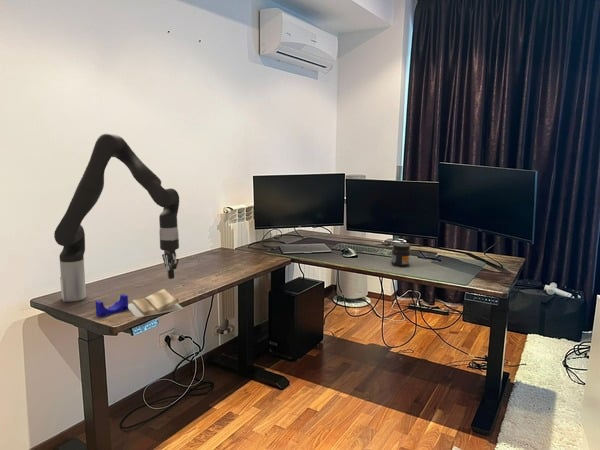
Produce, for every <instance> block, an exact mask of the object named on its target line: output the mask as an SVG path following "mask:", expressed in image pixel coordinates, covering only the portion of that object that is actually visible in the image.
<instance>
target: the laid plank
mask: <svg viewBox="0 0 600 450" xmlns="http://www.w3.org/2000/svg"><path fill="white" fill-rule="evenodd" d="M131 301H132V302H131V303H133V305H134V306H135V307H136V308H137V309H138V310H139V311H140V312H141V313H142V314H143V315H149V314H154V313H157V312H156V308H155V307H153V306H152V305H151V304H150V303H149V302H148V301H147V300H146V299H145V297H142V298H137V299H132V300H131Z"/></svg>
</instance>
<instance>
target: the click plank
mask: <svg viewBox="0 0 600 450" xmlns="http://www.w3.org/2000/svg"><path fill="white" fill-rule="evenodd" d="M144 298H145V299H146V300H147V301H148V302H149V303H150V304H151V305H152V306H153V307H155V308H156V310H157V311H158V312H160V311H162V310H164V309H166V308H168V307H170V306H172V305H174V304H176V303H178V304H179V302H180V301H179V298H177V297H176V296H175V295H173V294H172V293H171V292H170V291H169V290H167V289H166V288H165V287H164V288H163V289H161V290H159V291H157V292H154V293H153V294H150V295H148V296H146V297H144Z"/></svg>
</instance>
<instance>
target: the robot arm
mask: <svg viewBox="0 0 600 450" xmlns="http://www.w3.org/2000/svg"><path fill="white" fill-rule="evenodd" d="M111 158H115V159H117V160H119V161H120V162H121V163H123V164H124V165H125V166H126V168H127V169H128V170H129V171H130V173H131V175H132V177H133V178H134V180H135V181H136V182H137V183H138V184H139V185H140V186H141V187H142V188H144V190H145V191H147V193H148V195H149V196H150V197H151V199H152V201H153V202H154V203H155V204H156V205H157V206H159V207H161V208H163V209H162V212H161V213H159V217H158V218H159V231H158V233H159V235H158V236H159V249H160V250H161V251H163V253H162V255H161V257H162V260H163V263H164V266H165V268H166V270H167V279H169V280H173V279H174V278H175V270H177V267H178V263H179V258H177V253H176V250H178V249H179V248H180V241H179V240H180V238H179V229H178V213H179V207H180V195H179V193H178V191H177V190H176V189H174V188H164V187H163V186H162V180H161V179H160V177H159V176H157V174H155V173H154V172H153V171H152V170H151V169H150V168H149V167H148V166H147V165H146V164H145V163H144V162H143V161H142V160H141V159H140V158H139V157H138V156H137V154H136V153H135V152H134V150H133V149H132V148H131V147H130V145H129V144H128V143H127V141H125V139H124V138H123V137H122V136H120V135H117V134H112V133H108V132H107V133H102V134H100V135H99V136H98V137H97V139H96V141H95V143H94V146H93V148H92V152H91V155H90V158H89V161H88V163H87V165H86V167H85V170H84V172H83V174H82V177H81V179H80V181H79V182H78V184H77V186H76V188H75V190H74V193H73V196H72V198H71V200H70V202H69V204H68V207H67V210H66V211H65V213H64V215H63V217H62V218H61V219H60V221H59V223H58V225H57V227H56V228H55V231H54V233H53V234H54V235H53V237H54V240H55V242H56V244H57V245H59V246H61V247H62V250H61V252H60V254H59V255H58V256H59V266H60V267H59V268H60V270H59V271H60V278H59V279H60V281H59V282H60V291H61V292H60V293H61V300H62V301H63V302H65V303H66V302H69V303H70V302H78V301H81V300H84V299H86V298H87V292H86V291H87V290H86V274H85V272H86V271H85V260H84V259H85V257H84V256H85V251H86V234H85V230H84V227H83V225H82V222H83V220H84V219H85V217H86V216H87V215H88V214H89V213H90V211H91V210H93V208H94V207H95V205H96V204H97V203H98V200H99V199H100V197H101V195H102V193H103V191H104V190H103V189H104V187H105V186H104V185H105V170H106V168H107V166H108V164H109V162H110V160H111Z"/></svg>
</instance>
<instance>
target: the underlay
mask: <svg viewBox="0 0 600 450" xmlns="http://www.w3.org/2000/svg"><path fill="white" fill-rule="evenodd" d="M128 310H129V312H131V314H132V315H133V316H134V317H135V318H136V319H138V318H139V319H140V318H145V317H150V316H155V315H159V314H164V313H169V312H175V311H180V310H184V307H183V306H181V305H180V304H179V302H178V303H176V304H174V305H172V306H170V307H168V308H166V309H164V310H162V311H160V312H158V311H157V310H156V312H157V313H154V314H149V315H143V314H142V313H141V312H140V311H139V310H138V309H137V308H136V307H135V306H134V305H133V303H132V302H131V303H128Z"/></svg>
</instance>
